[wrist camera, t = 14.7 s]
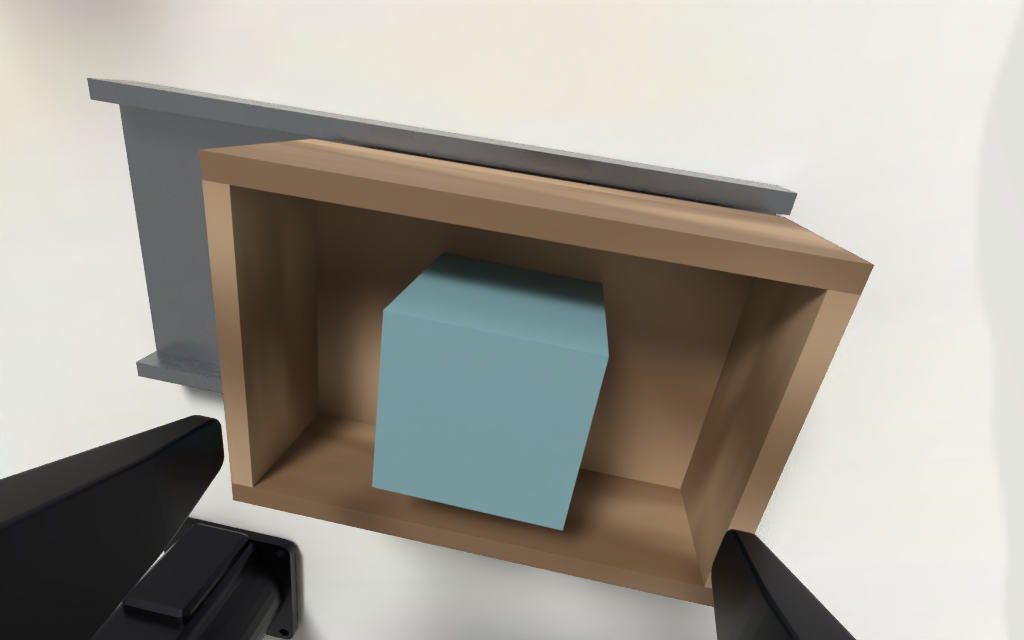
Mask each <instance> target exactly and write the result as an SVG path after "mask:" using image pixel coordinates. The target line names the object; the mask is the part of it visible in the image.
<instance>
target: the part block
mask: <svg viewBox="0 0 1024 640" xmlns="http://www.w3.org/2000/svg"><path fill="white" fill-rule="evenodd" d="M608 358H609V351H608V340H607V328H606V317H605V305H604V293H603V284H601V283H596V282H591V281H586V280H581V279H576V278H570V277H565V276H560V275H555V274H550V273H545V272H540V271H535V270H530V269H525V268H519V267H514V266H509V265H504V264H499V263H494V262H489V261H484V260H479V259H474V258H468V257H463V256H458V255H453V254H448V253H442V254H441V255H440V256H439V257H438V258H437V259H436V260H435V261H434V262H433V263H432V264H431V265H430V266H429V267H427V268H426V269H425V270H424V271H423V272H422V273H421V274H420V275H419V276H418V277H417V278H416V279H415V280H414V281H413V282H412V283H411V284H410V285H409V286H408V287H407V288H406V289H405V290H404V291H403V292H402V293H401V294H400V295H399V296H397V297H396V298H395V299H394V300H393V301H392V302H391V303H390V304H389V305H388V306H387V307H386V308H385V309H384V310H383V322H382V338H381V353H380V369H379V385H378V401H377V417H376V433H375V449H374V465H373V481H372V487H375V488H379V489H383V490H388V491H392V492H396V493H401V494H405V495H409V496H414V497H418V498H423V499H427V500H431V501H436V502H440V503H444V504H449V505H453V506H457V507H462V508H466V509H470V510H475V511H479V512H484V513H488V514H492V515H497V516H501V517H505V518H510V519H514V520H518V521H523V522H527V523H531V524H536V525H540V526H545V527H549V528H553V529H558V530H562V531H563V527H564V524H565V520H566V516H567V512H568V509H569V505H570V501H571V497H572V494H573V490H574V486H575V482H576V479H577V475H578V471H579V467H580V464H581V460H582V456H583V452H584V449H585V445H586V441H587V437H588V434H589V430H590V426H591V422H592V419H593V415H594V411H595V407H596V404H597V400H598V396H599V392H600V389H601V385H602V381H603V377H604V374H605V370H606V366H607V362H608Z"/></svg>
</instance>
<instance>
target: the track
mask: <svg viewBox="0 0 1024 640" xmlns="http://www.w3.org/2000/svg"><path fill="white" fill-rule="evenodd" d="M87 80H88V86H89V91H90V97H91V99H92V100H98V101H104V102H110V103H116V104H119V106H120V112H121V119H122V125H123V132H124V139H125V145H126V152H127V158H128V165H129V171H130V178H131V185H132V191H133V198H134V204H135V211H136V217H137V224H138V230H139V237H140V244H141V250H142V257H143V263H144V270H145V276H146V283H147V289H148V296H149V303H150V309H151V316H152V322H153V329H154V335H155V342H156V349H157V351H156V352H154V353H152V354H150V355H148V356H146V357H145V358H143V359H141V360H139V361H137V362H136V364H137V370H138V376H141V377H146V378H151V379H156V380H161V381H166V382H170V383H175V384H180V385H185V386H190V387H195V388H199V389H204V390H209V391H214V392H219V393H223V389H222V379H221V369H220V359H219V349H218V338H217V328H216V318H215V308H214V298H213V287H212V277H211V267H210V257H209V247H208V236H207V226H206V216H205V206H204V196H203V185H202V175H201V165H200V155H199V150H201V149H211V148H222V147H232V146H243V145H253V144H264V143H274V142H285V141H295V140H305V139H317V140H323V141H329V142H335V143H341V144H347V145H353V146H359V147H365V148H371V149H377V150H383V151H389V152H395V153H401V154H407V155H413V156H419V157H425V158H431V159H437V160H443V161H449V162H455V163H461V164H467V165H473V166H479V167H485V168H491V169H497V170H503V171H509V172H515V173H521V174H527V175H533V176H539V177H545V178H551V179H557V180H563V181H569V182H575V183H581V184H587V185H594V186H600V187H606V188H612V189H618V190H624V191H630V192H636V193H642V194H648V195H654V196H660V197H666V198H672V199H678V200H684V201H690V202H696V203H702V204H708V205H714V206H720V207H726V208H732V209H738V210H744V211H750V212H756V213H762V214H768V215H774V216H775V214H776V213H779V214H785V215H790V213H791V210H792V207H793V205H794V202H795V199H796V196H797V193H795V192H792V191H790V190H787V189H785V188H782V187H779V186H776V185H770V184H764V183H758V182H752V181H745V180H739V179H733V178H727V177H721V176H715V175H708V174H702V173H696V172H690V171H684V170H678V169H671V168H665V167H659V166H653V165H647V164H641V163H634V162H628V161H622V160H616V159H610V158H604V157H597V156H591V155H585V154H579V153H573V152H566V151H560V150H554V149H548V148H542V147H536V146H529V145H523V144H517V143H511V142H505V141H499V140H492V139H486V138H480V137H474V136H468V135H462V134H455V133H449V132H443V131H437V130H431V129H425V128H418V127H412V126H406V125H400V124H394V123H388V122H381V121H375V120H369V119H363V118H357V117H351V116H344V115H338V114H332V113H326V112H320V111H313V110H307V109H301V108H295V107H289V106H283V105H276V104H270V103H264V102H258V101H252V100H246V99H239V98H233V97H227V96H221V95H215V94H209V93H202V92H196V91H190V90H184V89H178V88H172V87H165V86H159V85H153V84H147V83H141V82H135V81H125V80H110V79H96V78H87Z"/></svg>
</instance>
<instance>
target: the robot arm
mask: <svg viewBox="0 0 1024 640" xmlns="http://www.w3.org/2000/svg"><path fill="white" fill-rule="evenodd" d="M223 461H224V448H223V439H222V429H221V424H220V422H219V421H218V420H216V419H214V418H210V417H205V416H200V415H193V416H190V417H187V418H184V419H181V420H178V421H175V422H172V423H169V424H166V425H163V426H160V427H157V428H154V429H151V430H148V431H145V432H142V433H139V434H136V435H133V436H130V437H127V438H124V439H121V440H118V441H115V442H112V443H109V444H106V445H103V446H100V447H97V448H94V449H91V450H88V451H85V452H81V453H78V454H75V455H72V456H69V457H66V458H63V459H60V460H57V461H54V462H51V463H48V464H45V465H42V466H39V467H36V468H33V469H30V470H27V471H24V472H21V473H18V474H15V475H12V476H9V477H6V478H3V479H0V640H262V639H263V637H264V636H265V634H266V635H270V636H274V637H279V638H283V639H291V638H292V637H293V636H294V634H295V632H296V631H297V628H298V623H297V596H296V570H295V548H294V546H293V544H292V543H291V542H289V541H288V540H285V539H282V538H277V537H273V536H268V535H264V534H260V533H255V532H251V531H246V530H242V529H237V528H233V527H229V526H224V525H220V524H215V523H211V522H207V521H202V520H198V519H193V518H189V517H188V516H189V515H190V513H191V512H192V510H193V509H194V507H195V506H196V504H197V503H198V501H199V500H200V498H201V497H202V495H203V494H204V493H205V491H206V490H207V488H208V487H209V485H210V484H211V482H212V481H213V479H214V478H215V476H216V475H217V473H218V472H219V470H220V469H221V467H222V464H223ZM163 551H164V553H165V554H164V555H163V556H162V557H161V558H160V559H159V560H158V561H157V562H156V563H155V564H154V565H153V563H154V562H155V561H156V560H157V559H158V557H159V556H160V555H161V554H162V552H163ZM152 565H153V566H152ZM151 566H152V567H151ZM150 567H151V568H150ZM149 568H150V569H149ZM711 582H712V592H713V602H714V612H715V621H716V631H717V640H856V639H855V638H854V637H853V636H852V635H851V634H850V633H849V632H848V631H847V630H846V628H845V627H844V626H843V625H842V624H841V623H840V622H839V621H838V620H837V619H836V618H835V617H834V616H833V615H832V614H831V613H830V612H829V611H828V610H827V609H826V608H825V607H824V605H823V604H822V603H821V602H820V601H819V600H818V599H817V598H816V597H815V596H814V595H813V594H812V593H811V592H810V591H809V590H808V589H807V588H806V587H805V586H804V585H803V584H802V583H801V581H800V580H799V579H798V578H797V577H796V576H795V575H794V574H793V573H792V572H791V571H790V570H789V569H788V568H787V567H786V566H785V565H784V564H783V563H782V562H781V561H780V560H779V558H778V557H777V556H776V555H775V554H774V553H773V552H772V551H771V550H770V549H769V548H768V547H767V546H766V545H765V544H764V543H763V542H762V541H761V540H760V539H759V538H758V537H757V536H756V535H755V534H753V533H750V532H745V531H740V530H736V529H730V530H728V531H727V532H726V533H725V535H724V537H723V539H722V542H721V544H720V547H719V549H718V551H717V554H716V556H715V559H714V561H713V564H712V568H711ZM121 602H122V603H121ZM120 603H121V604H120Z"/></svg>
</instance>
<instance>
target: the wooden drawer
mask: <svg viewBox="0 0 1024 640" xmlns="http://www.w3.org/2000/svg"><path fill="white" fill-rule="evenodd" d="M199 155H200V165H201V175H202V185H203V196H204V206H205V216H206V226H207V236H208V247H209V257H210V267H211V277H212V287H213V298H214V308H215V318H216V328H217V338H218V349H219V359H220V369H221V379H222V389H223V400H224V410H225V420H226V430H227V441H228V451H229V461H230V471H231V481H232V492H233V500H235V501H240V502H244V503H249V504H253V505H258V506H262V507H267V508H271V509H276V510H280V511H285V512H289V513H294V514H298V515H303V516H307V517H312V518H316V519H321V520H325V521H330V522H334V523H339V524H343V525H348V526H352V527H357V528H361V529H366V530H370V531H375V532H379V533H384V534H388V535H393V536H397V537H402V538H406V539H411V540H415V541H420V542H424V543H429V544H433V545H438V546H442V547H447V548H451V549H456V550H460V551H465V552H469V553H474V554H478V555H483V556H487V557H492V558H496V559H500V560H505V561H509V562H514V563H518V564H523V565H527V566H532V567H536V568H541V569H545V570H550V571H554V572H559V573H563V574H568V575H572V576H577V577H581V578H586V579H590V580H595V581H599V582H604V583H608V584H613V585H617V586H622V587H626V588H631V589H635V590H640V591H644V592H649V593H653V594H658V595H662V596H667V597H671V598H676V599H680V600H685V601H689V602H694V603H698V604H703V605H707V606H712V607H714V602H713V592H712V582H711V568H712V564H713V561H714V559H715V556H716V554H717V551H718V549H719V547H720V544H721V542H722V539H723V537H724V535H725V533H726V532H727V531H728V530H730V529H736V530H740V531H745V532H750V533H753V534H755V531H756V529H757V527H758V525H759V522H760V520H761V518H762V516H763V513H764V511H765V509H766V507H767V504H768V502H769V500H770V498H771V495H772V493H773V491H774V489H775V486H776V484H777V482H778V480H779V478H780V475H781V473H782V471H783V469H784V466H785V464H786V462H787V460H788V457H789V455H790V453H791V451H792V448H793V446H794V444H795V442H796V439H797V437H798V435H799V433H800V430H801V428H802V426H803V424H804V421H805V419H806V417H807V415H808V412H809V410H810V408H811V406H812V403H813V401H814V399H815V397H816V394H817V392H818V390H819V388H820V385H821V383H822V381H823V379H824V376H825V374H826V372H827V370H828V367H829V365H830V363H831V361H832V359H833V356H834V354H835V352H836V350H837V347H838V345H839V343H840V341H841V338H842V336H843V334H844V332H845V329H846V327H847V325H848V323H849V320H850V318H851V316H852V314H853V311H854V309H855V307H856V305H857V302H858V300H859V298H860V296H861V293H862V291H863V289H864V287H865V284H866V282H867V280H868V278H869V275H870V273H871V271H872V269H873V266H874V265H873V264H871V263H870V262H868V261H866V260H864V259H862V258H860V257H858V256H856V255H855V254H853V253H851V252H849V251H847V250H845V249H843V248H841V247H839V246H838V245H836V244H834V243H832V242H830V241H828V240H826V239H824V238H823V237H821V236H819V235H817V234H815V233H813V232H811V231H809V230H808V229H806V228H804V227H802V226H800V225H798V224H796V223H794V222H793V221H791V220H789V219H787V218H785V217H780V216H774V215H768V214H762V213H756V212H750V211H744V210H738V209H732V208H726V207H720V206H714V205H708V204H702V203H696V202H690V201H684V200H678V199H672V198H666V197H660V196H654V195H648V194H642V193H636V192H630V191H624V190H618V189H612V188H606V187H600V186H594V185H587V184H581V183H575V182H569V181H563V180H557V179H551V178H545V177H539V176H533V175H527V174H521V173H515V172H509V171H503V170H497V169H491V168H485V167H479V166H473V165H467V164H461V163H455V162H449V161H443V160H437V159H431V158H425V157H419V156H413V155H407V154H401V153H395V152H389V151H383V150H377V149H371V148H365V147H359V146H353V145H347V144H341V143H335V142H329V141H323V140H317V139H305V140H295V141H285V142H274V143H264V144H253V145H243V146H232V147H222V148H211V149H201V150H199ZM442 253H448V254H453V255H458V256H463V257H468V258H474V259H479V260H484V261H489V262H494V263H499V264H504V265H509V266H514V267H519V268H525V269H530V270H535V271H540V272H545V273H550V274H555V275H560V276H565V277H570V278H576V279H581V280H586V281H591V282H596V283H601V284H603V293H604V305H605V317H606V328H607V340H608V351H609V358H608V362H607V366H606V370H605V374H604V377H603V381H602V385H601V389H600V392H599V396H598V400H597V404H596V407H595V411H594V415H593V419H592V422H591V426H590V430H589V434H588V437H587V441H586V445H585V449H584V452H583V456H582V460H581V464H580V467H579V471H578V475H577V479H576V482H575V486H574V490H573V494H572V497H571V501H570V505H569V509H568V512H567V516H566V520H565V524H564V527H563V531H562V530H558V529H553V528H549V527H545V526H540V525H536V524H531V523H527V522H523V521H518V520H514V519H510V518H505V517H501V516H497V515H492V514H488V513H484V512H479V511H475V510H470V509H466V508H462V507H457V506H453V505H449V504H444V503H440V502H436V501H431V500H427V499H423V498H418V497H414V496H409V495H405V494H401V493H396V492H392V491H388V490H383V489H379V488H375V487H372V481H373V465H374V449H375V433H376V417H377V401H378V385H379V369H380V353H381V338H382V322H383V310H384V309H385V308H386V307H387V306H388V305H389V304H390V303H391V302H392V301H393V300H394V299H395V298H396V297H397V296H399V295H400V294H401V293H402V292H403V291H404V290H405V289H406V288H407V287H408V286H409V285H410V284H411V283H412V282H413V281H414V280H415V279H416V278H417V277H418V276H419V275H420V274H421V273H422V272H423V271H424V270H425V269H426V268H427V267H429V266H430V265H431V264H432V263H433V262H434V261H435V260H436V259H437V258H438V257H439V256H440V255H441V254H442Z"/></svg>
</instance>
